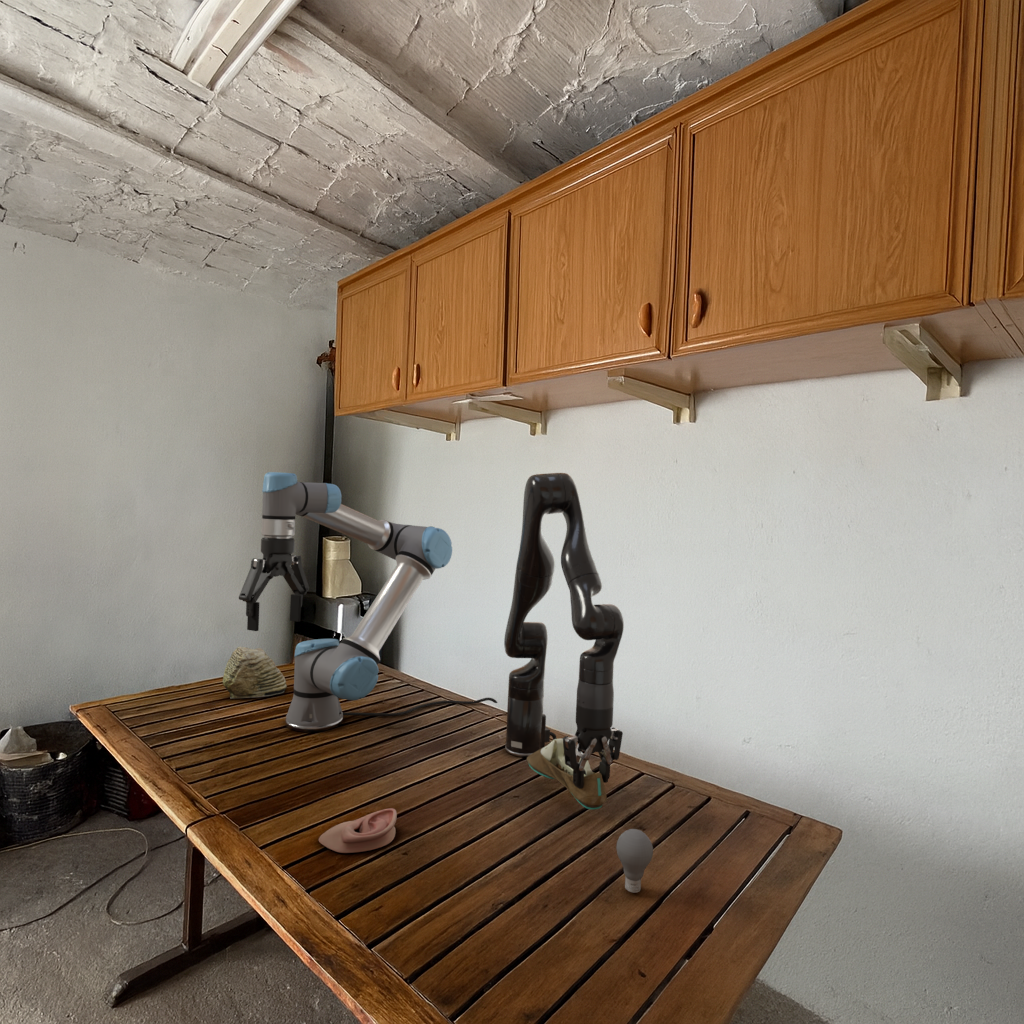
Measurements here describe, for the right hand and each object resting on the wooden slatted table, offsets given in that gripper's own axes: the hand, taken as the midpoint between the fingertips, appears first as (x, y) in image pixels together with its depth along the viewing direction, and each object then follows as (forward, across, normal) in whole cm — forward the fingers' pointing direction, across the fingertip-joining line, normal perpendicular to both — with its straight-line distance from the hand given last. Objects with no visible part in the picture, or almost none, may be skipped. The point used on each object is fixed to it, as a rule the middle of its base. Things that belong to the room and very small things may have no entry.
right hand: (591, 783), depth 129 cm
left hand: (-25, -52, +58) cm, 81 cm away
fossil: (+6, -47, +109) cm, 119 cm away
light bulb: (+7, -9, -23) cm, 25 cm away
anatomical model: (+7, -44, +14) cm, 47 cm away
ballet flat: (+4, 0, +9) cm, 10 cm away
